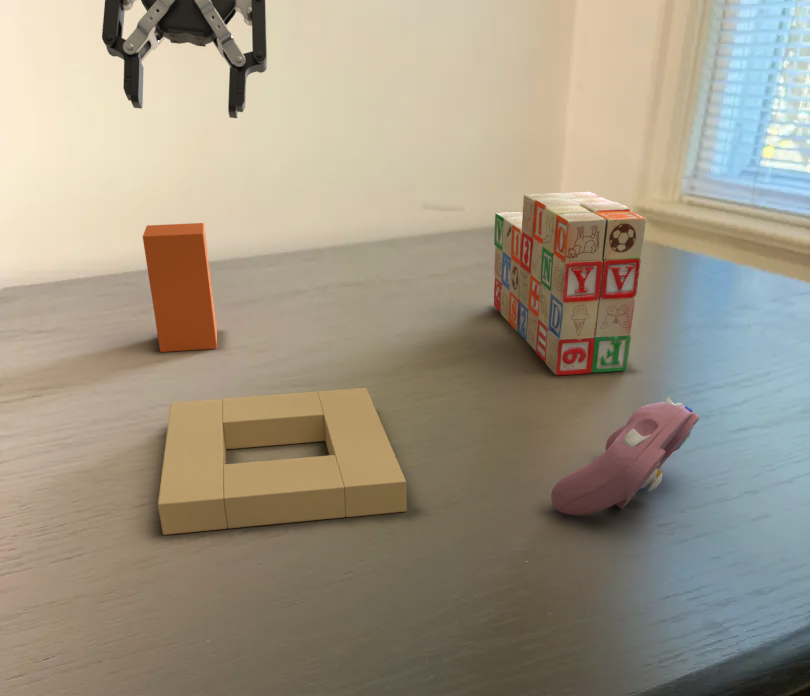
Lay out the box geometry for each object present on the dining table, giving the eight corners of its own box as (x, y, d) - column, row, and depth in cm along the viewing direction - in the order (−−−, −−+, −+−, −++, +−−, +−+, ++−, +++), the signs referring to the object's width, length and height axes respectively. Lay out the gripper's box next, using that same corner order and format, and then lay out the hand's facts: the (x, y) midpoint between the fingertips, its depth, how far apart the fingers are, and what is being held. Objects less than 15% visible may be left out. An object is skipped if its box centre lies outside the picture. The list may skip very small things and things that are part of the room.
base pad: (162, 535, 50) (157, 504, 49) (174, 428, 64) (170, 402, 63) (406, 511, 52) (406, 481, 51) (367, 413, 66) (366, 387, 65)
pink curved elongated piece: (602, 554, 51) (671, 466, 46) (539, 504, 51) (601, 413, 47) (660, 488, 58) (725, 407, 53) (604, 446, 59) (663, 362, 54)
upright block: (160, 352, 79) (142, 236, 74) (163, 336, 83) (146, 225, 78) (217, 348, 80) (203, 233, 75) (217, 332, 84) (203, 222, 79)
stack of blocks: (491, 307, 91) (496, 178, 84) (550, 304, 91) (559, 176, 85) (556, 376, 72) (568, 218, 66) (629, 371, 73) (647, 214, 67)
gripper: (272, -46, 83) (265, 133, 85) (116, -66, 82) (111, 117, 83) (270, -94, 76) (262, 103, 77) (98, -118, 74) (94, 84, 76)
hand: (184, 110), depth 80 cm, fingers open, 8 cm apart
